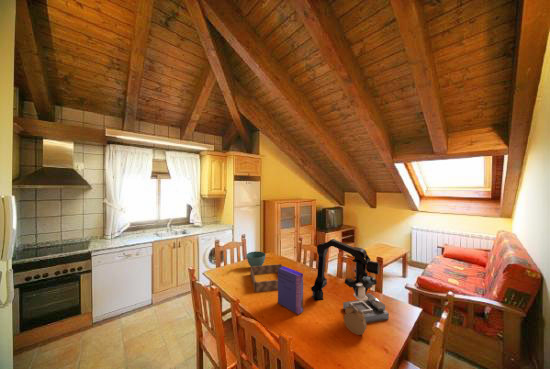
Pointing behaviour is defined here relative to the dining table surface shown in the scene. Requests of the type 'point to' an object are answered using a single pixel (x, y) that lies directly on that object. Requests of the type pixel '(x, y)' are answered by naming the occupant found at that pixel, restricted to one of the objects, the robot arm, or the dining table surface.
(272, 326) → the dining table surface
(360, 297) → the pump
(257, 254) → the plant pot
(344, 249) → the robot arm
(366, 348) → the dining table surface
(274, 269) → the serving tray rim
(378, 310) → the desk telephone
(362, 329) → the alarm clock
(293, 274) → the cereal box
